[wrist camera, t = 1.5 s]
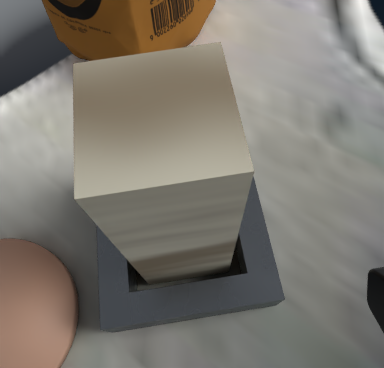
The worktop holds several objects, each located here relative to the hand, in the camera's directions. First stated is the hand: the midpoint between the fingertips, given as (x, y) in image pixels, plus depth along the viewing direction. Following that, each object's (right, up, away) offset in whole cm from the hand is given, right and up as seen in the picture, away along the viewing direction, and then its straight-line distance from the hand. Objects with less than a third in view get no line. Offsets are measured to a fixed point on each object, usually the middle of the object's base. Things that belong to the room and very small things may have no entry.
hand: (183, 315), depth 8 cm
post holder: (0, 0, +13) cm, 13 cm away
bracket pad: (-11, -5, +11) cm, 16 cm away
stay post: (0, 0, +13) cm, 13 cm away
